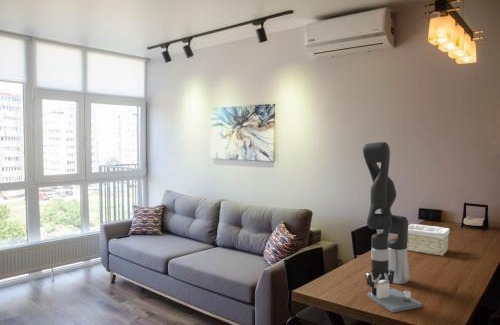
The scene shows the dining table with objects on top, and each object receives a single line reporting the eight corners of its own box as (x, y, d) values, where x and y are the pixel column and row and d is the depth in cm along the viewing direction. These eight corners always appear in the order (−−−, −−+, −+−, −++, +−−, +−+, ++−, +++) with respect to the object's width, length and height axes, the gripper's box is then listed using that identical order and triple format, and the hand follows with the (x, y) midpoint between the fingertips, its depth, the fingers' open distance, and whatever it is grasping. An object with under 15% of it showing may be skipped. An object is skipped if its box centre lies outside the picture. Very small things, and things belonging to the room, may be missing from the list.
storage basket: (450, 250, 242) (450, 227, 241) (444, 257, 229) (444, 233, 228) (411, 245, 257) (410, 223, 256) (403, 251, 244) (403, 228, 243)
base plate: (394, 291, 182) (394, 288, 182) (421, 306, 165) (421, 303, 165) (366, 296, 178) (366, 293, 177) (392, 312, 160) (392, 309, 160)
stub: (407, 298, 170) (407, 289, 170) (412, 301, 167) (412, 292, 166) (401, 299, 169) (401, 291, 169) (406, 302, 166) (406, 293, 166)
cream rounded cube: (381, 292, 178) (381, 279, 177) (389, 296, 172) (389, 283, 172) (371, 293, 176) (371, 281, 176) (378, 298, 171) (378, 285, 170)
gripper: (388, 253, 179) (388, 288, 180) (361, 257, 175) (361, 293, 176) (398, 258, 172) (399, 295, 173) (371, 262, 168) (371, 299, 169)
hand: (380, 294), depth 174 cm, fingers closed on cream rounded cube, 5 cm apart
